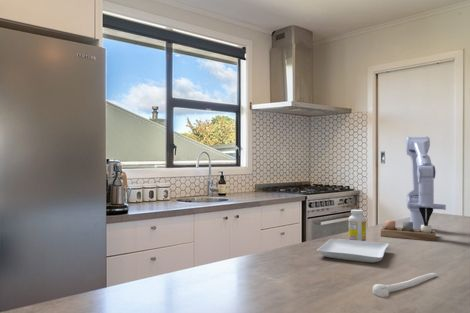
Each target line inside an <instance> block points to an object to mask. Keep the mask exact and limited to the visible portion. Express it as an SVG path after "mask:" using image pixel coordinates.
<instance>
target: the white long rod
mask: <svg viewBox="0 0 470 313" xmlns="http://www.w3.org/2000/svg"><path fill="white" fill-rule="evenodd" d="M437 276H438V274H437V273H436V272H431V273H430V272H429V273H426V274H423V275H419V276H417V277H413V278H412V279H409V280H405V281H404V280H403V281H401V282H397V283H391V284H386V285H385V284H382V283H381V284H380V283H377V284H374V285H373V286H372V294H373V295H374V296H377V297H380V298H382V297H383V298H385V297H386V298H387V297H389V295H390V293H392V292H397V291H401V290H404V289H408V288H411V287H413V286H414V287H415V286H417V285H419V284H421V283H424V282H425V281H426V282H427V281H428V280H431V279H433V278H435V277H437Z"/></svg>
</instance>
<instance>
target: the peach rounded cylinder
mask: <svg viewBox="0 0 470 313" xmlns="http://www.w3.org/2000/svg"><path fill="white" fill-rule="evenodd" d="M385 226H386V229H388V230H395V227H396V221H395V220H392V219H391V220H390V219H388V220H387V219H385Z"/></svg>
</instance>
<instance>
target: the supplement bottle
mask: <svg viewBox="0 0 470 313" xmlns="http://www.w3.org/2000/svg"><path fill="white" fill-rule="evenodd" d="M350 214H351V215H350V216H349V217H348V240H357V241H367V229H366V228H367V227H366V226H367V219H366V216H364V210H363V209H351V210H350Z"/></svg>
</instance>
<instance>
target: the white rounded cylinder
mask: <svg viewBox="0 0 470 313" xmlns="http://www.w3.org/2000/svg"><path fill="white" fill-rule="evenodd" d="M431 230H432V225H430V224H428V226H424V225H421V232H422V233H431Z"/></svg>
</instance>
